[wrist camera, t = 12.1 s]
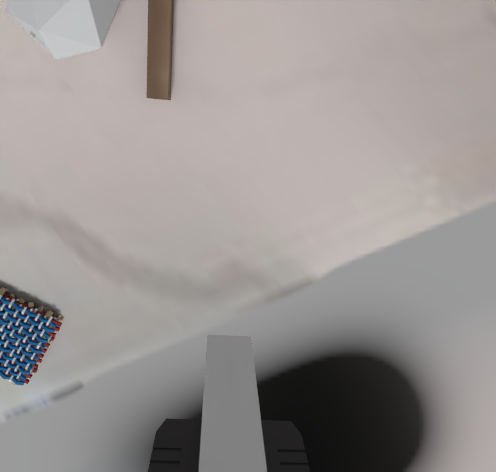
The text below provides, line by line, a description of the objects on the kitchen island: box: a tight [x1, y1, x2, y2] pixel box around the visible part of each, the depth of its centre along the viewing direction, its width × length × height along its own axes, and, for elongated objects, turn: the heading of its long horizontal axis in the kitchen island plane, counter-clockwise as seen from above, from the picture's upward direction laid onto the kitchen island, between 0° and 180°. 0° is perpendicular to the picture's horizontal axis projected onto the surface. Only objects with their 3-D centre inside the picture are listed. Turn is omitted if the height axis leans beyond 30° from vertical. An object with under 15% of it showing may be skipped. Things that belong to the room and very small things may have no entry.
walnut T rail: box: [147, 0, 174, 100], centre depth 39 cm, size 24×16×3 cm, turn 85°
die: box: [5, 0, 120, 60], centre depth 37 cm, size 8×9×10 cm
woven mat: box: [0, 287, 62, 385], centre depth 49 cm, size 10×11×2 cm
